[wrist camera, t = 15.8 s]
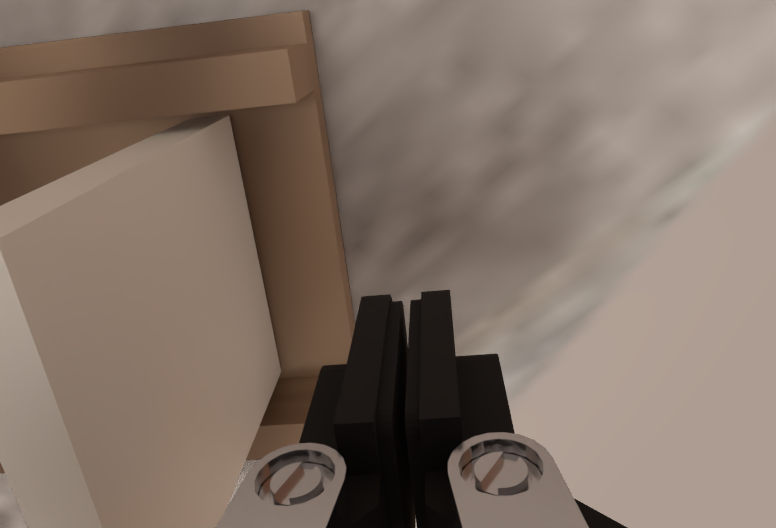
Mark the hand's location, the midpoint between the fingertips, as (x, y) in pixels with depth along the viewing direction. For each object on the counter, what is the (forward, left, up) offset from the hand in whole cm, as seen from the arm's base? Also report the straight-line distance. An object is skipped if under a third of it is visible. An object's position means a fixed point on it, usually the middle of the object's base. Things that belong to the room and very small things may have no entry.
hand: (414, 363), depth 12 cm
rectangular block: (-5, 0, -7) cm, 9 cm away
